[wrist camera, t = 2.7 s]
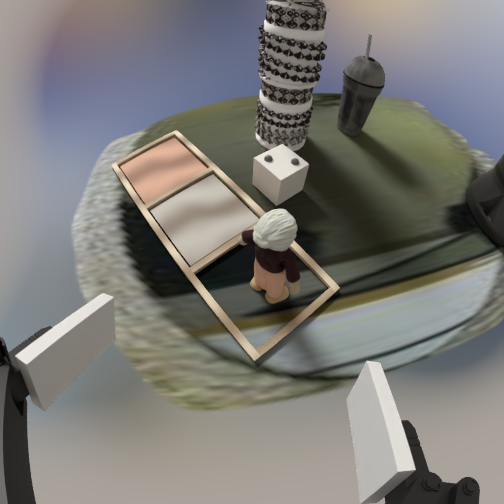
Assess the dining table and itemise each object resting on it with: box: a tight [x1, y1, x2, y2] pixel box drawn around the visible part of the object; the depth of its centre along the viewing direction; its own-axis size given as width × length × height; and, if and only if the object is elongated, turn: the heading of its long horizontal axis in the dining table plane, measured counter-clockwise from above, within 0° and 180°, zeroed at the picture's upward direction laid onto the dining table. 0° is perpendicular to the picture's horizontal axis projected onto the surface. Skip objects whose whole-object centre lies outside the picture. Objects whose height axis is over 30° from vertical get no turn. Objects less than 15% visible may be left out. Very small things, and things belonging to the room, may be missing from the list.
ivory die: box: [253, 144, 309, 206], centre depth 36 cm, size 5×5×6 cm
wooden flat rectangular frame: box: [112, 130, 340, 361], centre depth 36 cm, size 36×13×1 cm, turn 39°
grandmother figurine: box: [239, 209, 301, 304], centre depth 26 cm, size 8×4×13 cm, turn 55°
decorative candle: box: [255, 0, 330, 151], centre depth 33 cm, size 9×9×25 cm
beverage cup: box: [337, 34, 385, 136], centre depth 38 cm, size 7×7×20 cm
